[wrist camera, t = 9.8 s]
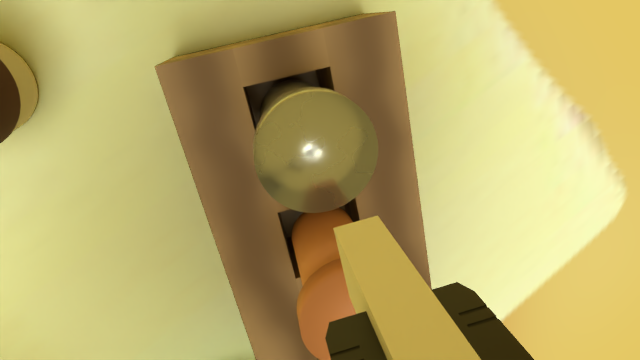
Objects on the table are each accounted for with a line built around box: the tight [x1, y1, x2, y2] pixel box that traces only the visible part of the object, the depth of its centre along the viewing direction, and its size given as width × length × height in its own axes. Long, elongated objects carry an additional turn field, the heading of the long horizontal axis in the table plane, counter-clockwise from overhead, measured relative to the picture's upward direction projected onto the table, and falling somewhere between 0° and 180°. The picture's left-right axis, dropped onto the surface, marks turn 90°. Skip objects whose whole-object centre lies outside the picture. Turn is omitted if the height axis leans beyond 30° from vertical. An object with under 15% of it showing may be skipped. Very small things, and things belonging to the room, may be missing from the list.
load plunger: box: [292, 208, 356, 360], centre depth 29 cm, size 6×6×11 cm
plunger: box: [253, 80, 378, 213], centre depth 26 cm, size 6×6×11 cm
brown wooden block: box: [155, 11, 432, 360], centre depth 37 cm, size 16×30×8 cm, turn 12°
